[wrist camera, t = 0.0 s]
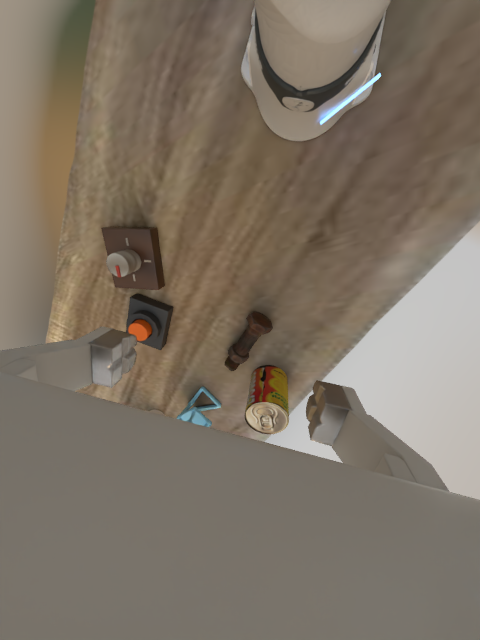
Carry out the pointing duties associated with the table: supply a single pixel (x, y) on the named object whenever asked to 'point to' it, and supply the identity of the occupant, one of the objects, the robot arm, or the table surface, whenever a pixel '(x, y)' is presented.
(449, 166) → the table surface
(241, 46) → the table surface
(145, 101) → the table surface
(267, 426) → the beverage can
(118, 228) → the dial base
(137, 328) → the button
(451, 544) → the robot arm
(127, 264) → the knob
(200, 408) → the chair
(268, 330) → the bolt
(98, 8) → the table surface
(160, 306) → the button box
